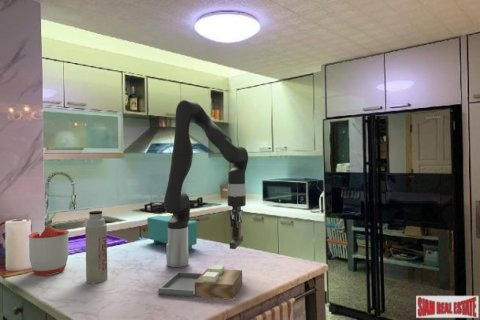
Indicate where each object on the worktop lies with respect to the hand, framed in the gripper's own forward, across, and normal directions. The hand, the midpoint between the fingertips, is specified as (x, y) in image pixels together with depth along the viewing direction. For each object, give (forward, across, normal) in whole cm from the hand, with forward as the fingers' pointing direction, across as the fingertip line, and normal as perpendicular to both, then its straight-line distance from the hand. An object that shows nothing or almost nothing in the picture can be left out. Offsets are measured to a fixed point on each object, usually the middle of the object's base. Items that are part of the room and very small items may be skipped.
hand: (236, 235), depth 145 cm
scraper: (+4, 0, 0) cm, 4 cm away
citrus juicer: (+18, +10, -82) cm, 85 cm away
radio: (+18, -40, -46) cm, 64 cm away
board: (+16, +17, -2) cm, 24 cm away
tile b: (+12, +13, -5) cm, 18 cm away
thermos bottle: (+18, +16, -54) cm, 59 cm away
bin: (+17, +17, -16) cm, 29 cm away
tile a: (+11, +21, -5) cm, 24 cm away
